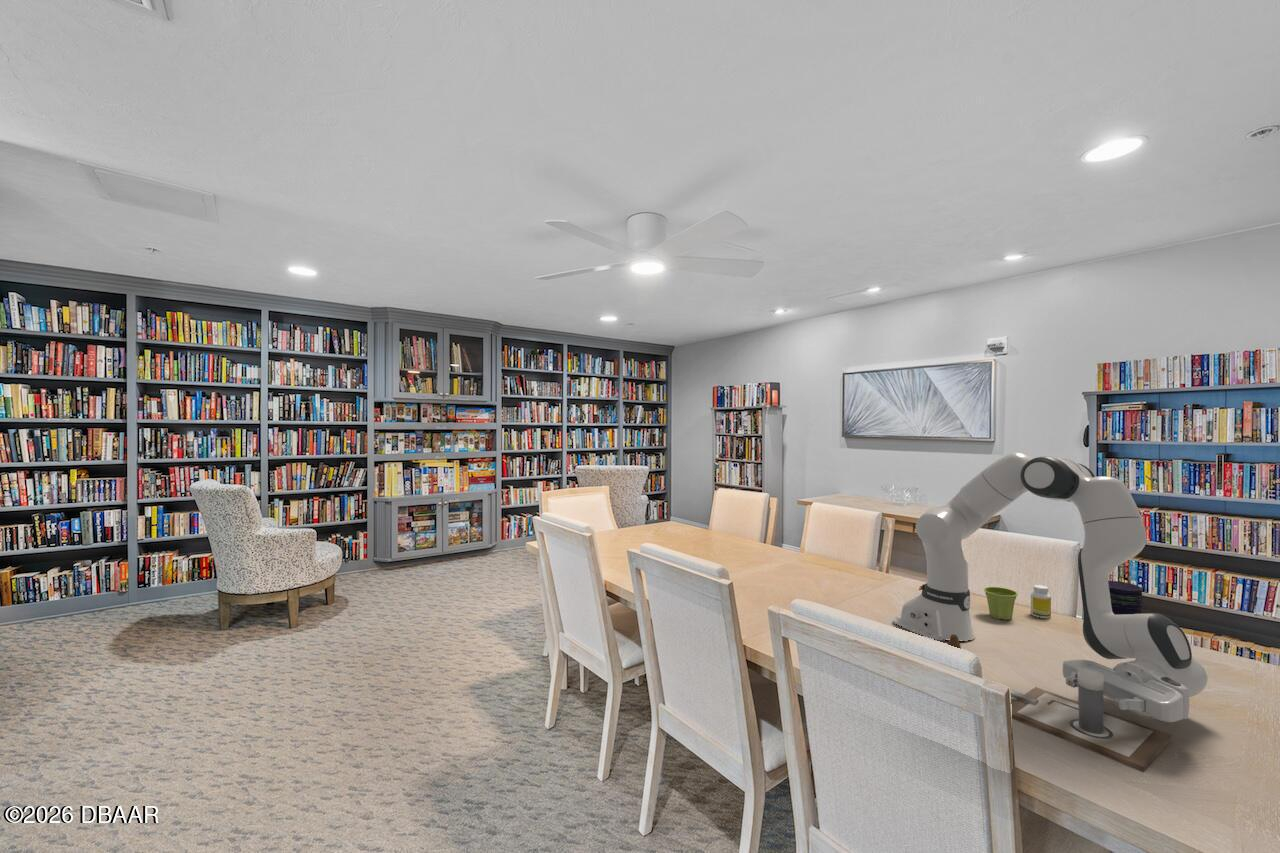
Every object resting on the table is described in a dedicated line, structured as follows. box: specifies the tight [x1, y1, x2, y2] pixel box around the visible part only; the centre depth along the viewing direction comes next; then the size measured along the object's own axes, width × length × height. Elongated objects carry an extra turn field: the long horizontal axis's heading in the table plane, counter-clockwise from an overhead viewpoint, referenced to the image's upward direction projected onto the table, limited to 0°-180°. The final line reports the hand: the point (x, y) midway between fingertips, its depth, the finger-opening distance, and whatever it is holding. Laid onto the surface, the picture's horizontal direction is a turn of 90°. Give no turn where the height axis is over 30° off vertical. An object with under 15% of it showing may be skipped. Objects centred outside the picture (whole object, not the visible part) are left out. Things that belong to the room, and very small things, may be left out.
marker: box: [1077, 667, 1104, 734], centre depth 112 cm, size 4×4×12 cm
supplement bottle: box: [1030, 584, 1052, 619], centre depth 179 cm, size 5×5×10 cm
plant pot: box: [983, 586, 1019, 621], centre depth 178 cm, size 9×9×9 cm
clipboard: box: [1010, 686, 1173, 772], centre depth 116 cm, size 26×18×2 cm
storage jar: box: [1108, 580, 1144, 615], centre depth 163 cm, size 10×10×15 cm
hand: (1092, 693), depth 112 cm, fingers open, 8 cm apart
